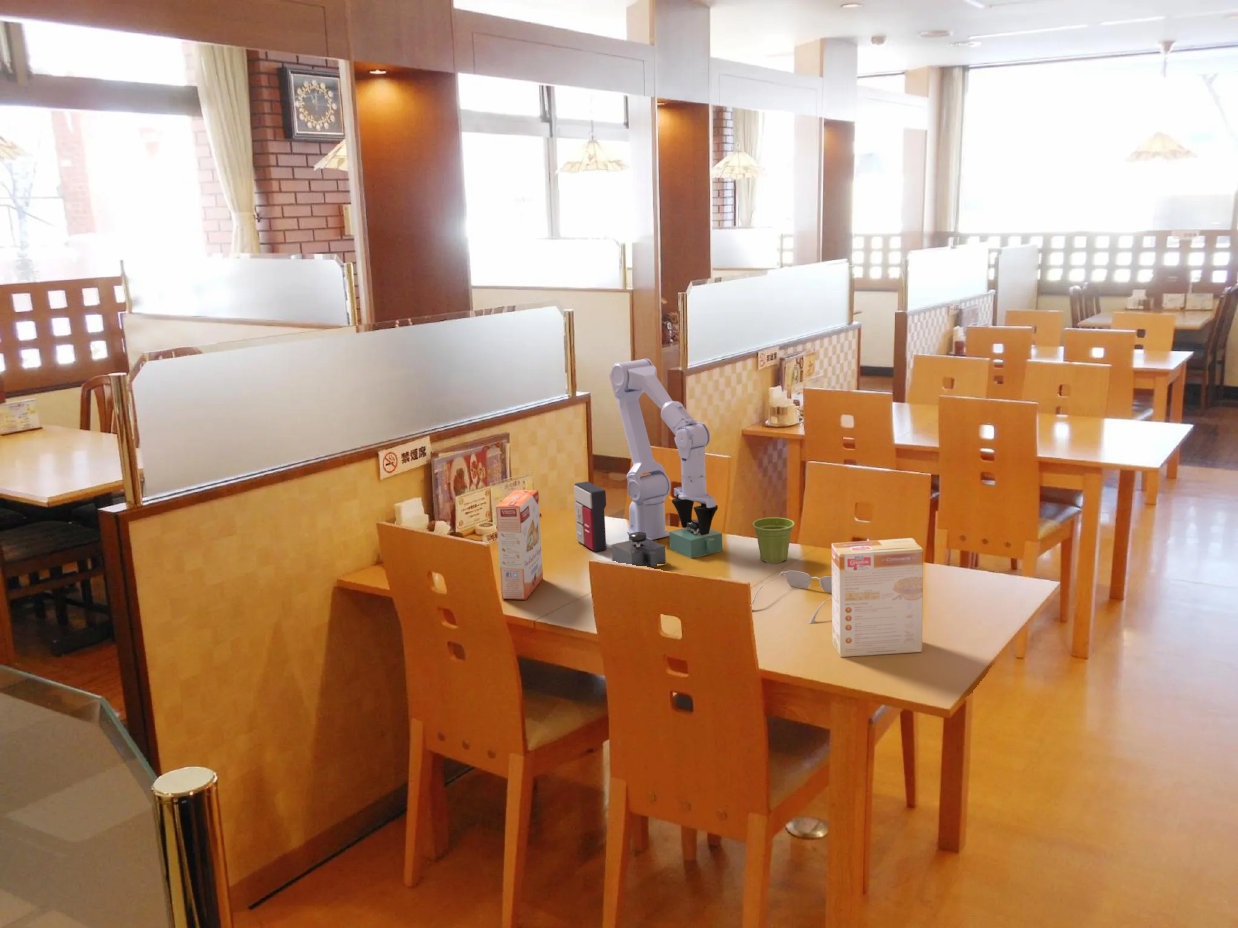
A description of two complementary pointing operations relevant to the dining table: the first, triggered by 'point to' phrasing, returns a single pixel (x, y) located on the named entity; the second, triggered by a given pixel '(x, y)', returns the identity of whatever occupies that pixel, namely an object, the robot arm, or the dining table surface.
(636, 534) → the charcoal plunger
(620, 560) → the charcoal press
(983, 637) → the dining table surface
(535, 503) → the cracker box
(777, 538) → the plant pot
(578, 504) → the red grey tall block
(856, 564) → the coffeecake box
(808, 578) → the eyeglasses
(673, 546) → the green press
